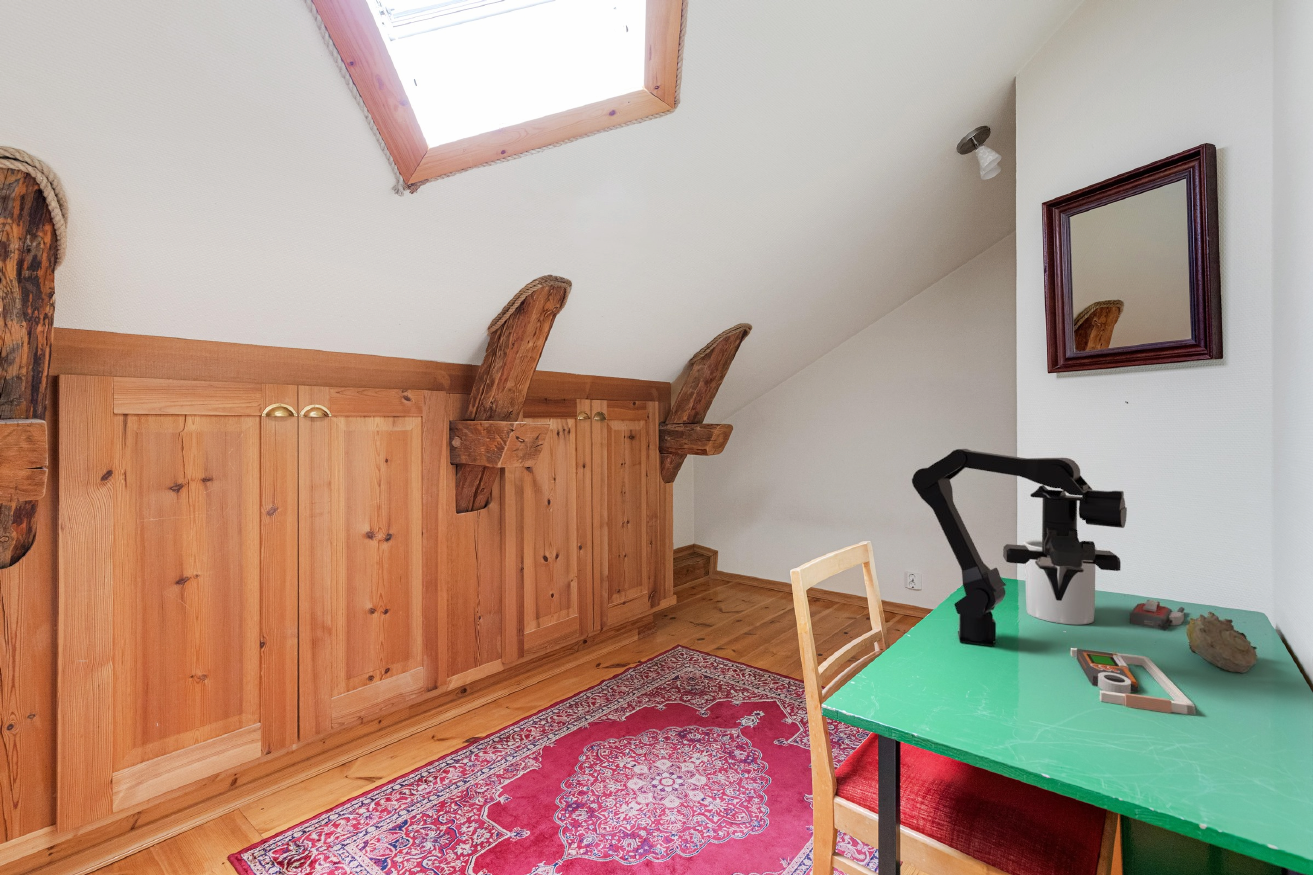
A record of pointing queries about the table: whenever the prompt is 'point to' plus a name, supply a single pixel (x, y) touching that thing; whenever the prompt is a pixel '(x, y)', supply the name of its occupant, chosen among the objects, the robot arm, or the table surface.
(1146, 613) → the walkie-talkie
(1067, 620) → the utensil holder
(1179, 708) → the docking bay
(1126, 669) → the electronic device
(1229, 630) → the seashell
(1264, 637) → the table surface
